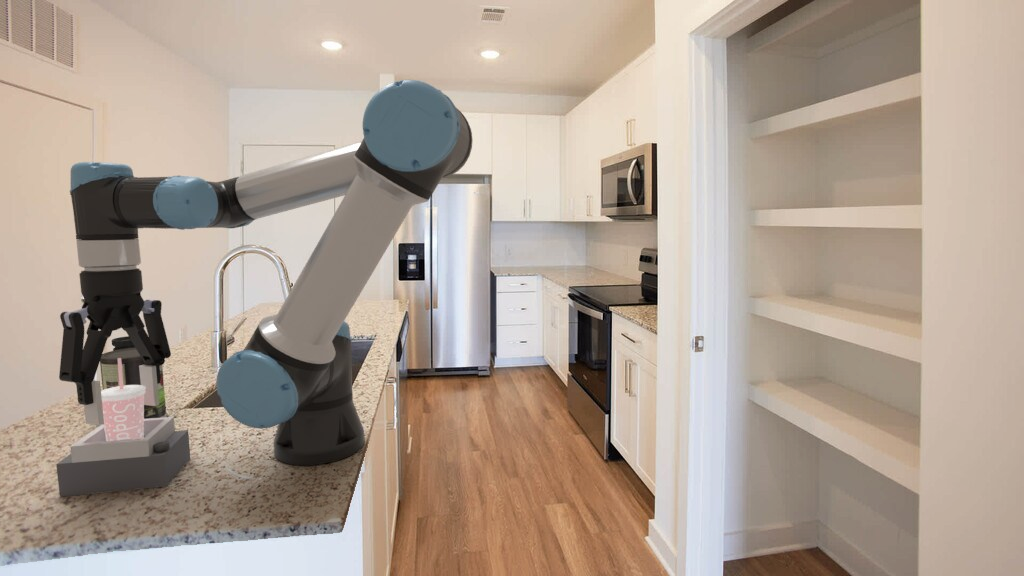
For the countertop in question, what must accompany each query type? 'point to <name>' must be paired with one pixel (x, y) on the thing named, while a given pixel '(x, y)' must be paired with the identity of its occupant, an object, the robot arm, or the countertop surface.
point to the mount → (124, 460)
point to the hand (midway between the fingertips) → (124, 413)
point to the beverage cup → (123, 410)
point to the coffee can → (130, 377)
